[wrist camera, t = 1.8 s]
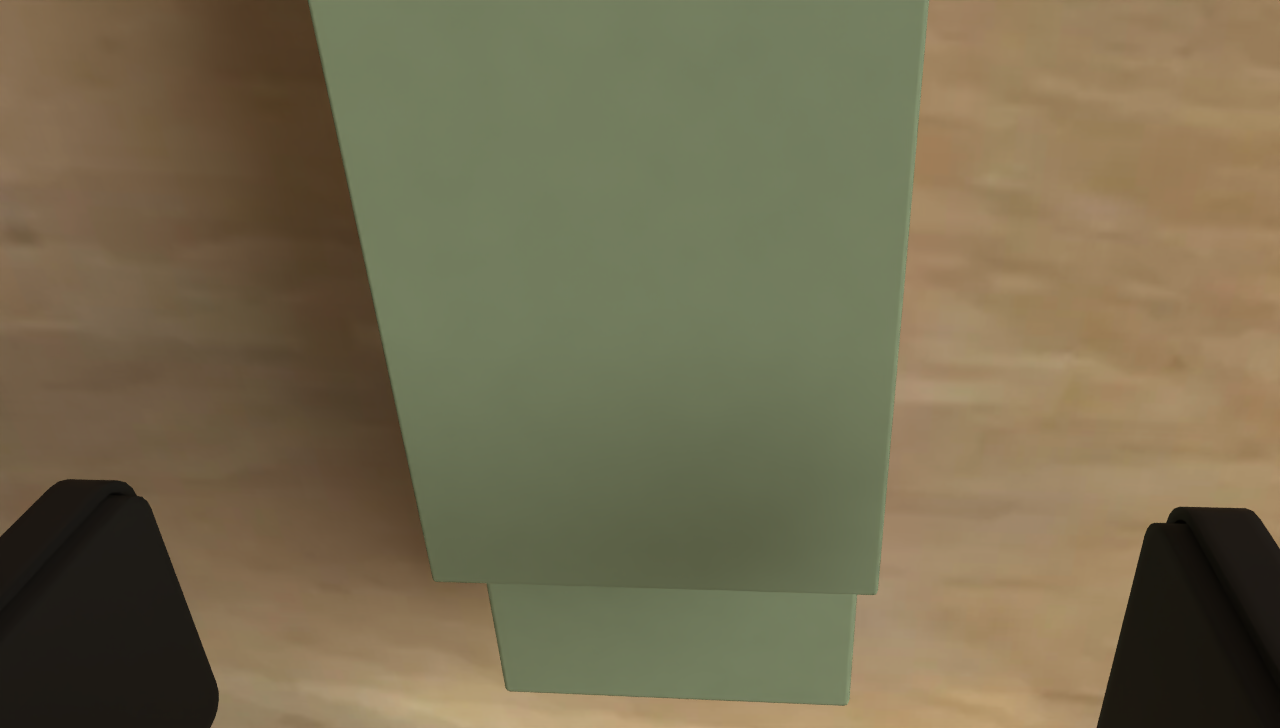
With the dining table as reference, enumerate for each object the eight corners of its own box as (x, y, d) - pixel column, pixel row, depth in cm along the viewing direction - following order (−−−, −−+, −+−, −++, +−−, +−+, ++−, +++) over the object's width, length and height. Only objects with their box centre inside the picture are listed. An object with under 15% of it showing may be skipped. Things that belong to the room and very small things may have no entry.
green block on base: (403, -356, 13) (183, -419, 8) (907, -396, 13) (1008, -493, 8) (536, 560, 22) (467, 811, 17) (846, 568, 21) (873, 834, 16)
